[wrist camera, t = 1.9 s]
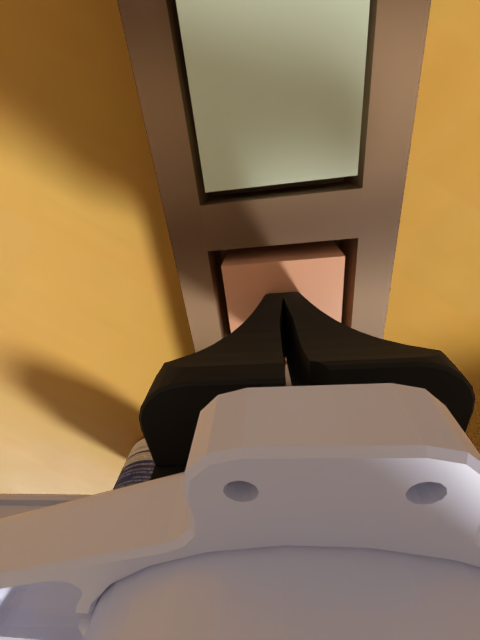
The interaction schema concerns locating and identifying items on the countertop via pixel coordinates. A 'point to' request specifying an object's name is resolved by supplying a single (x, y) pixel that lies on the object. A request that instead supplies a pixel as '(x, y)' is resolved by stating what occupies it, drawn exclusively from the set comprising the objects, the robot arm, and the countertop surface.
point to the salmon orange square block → (283, 277)
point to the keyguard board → (290, 198)
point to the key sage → (275, 88)
